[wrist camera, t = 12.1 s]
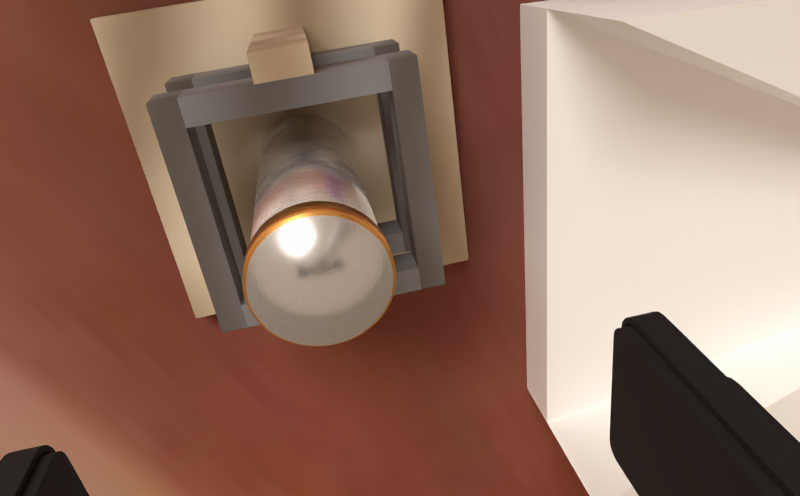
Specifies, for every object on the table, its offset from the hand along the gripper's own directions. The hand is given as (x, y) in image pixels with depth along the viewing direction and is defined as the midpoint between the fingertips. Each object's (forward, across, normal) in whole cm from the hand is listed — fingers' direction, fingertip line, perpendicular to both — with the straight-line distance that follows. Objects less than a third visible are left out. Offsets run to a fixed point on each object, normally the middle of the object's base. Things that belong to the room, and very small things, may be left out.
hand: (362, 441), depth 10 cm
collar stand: (+20, +1, +1) cm, 20 cm away
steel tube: (+19, +1, +1) cm, 19 cm away
